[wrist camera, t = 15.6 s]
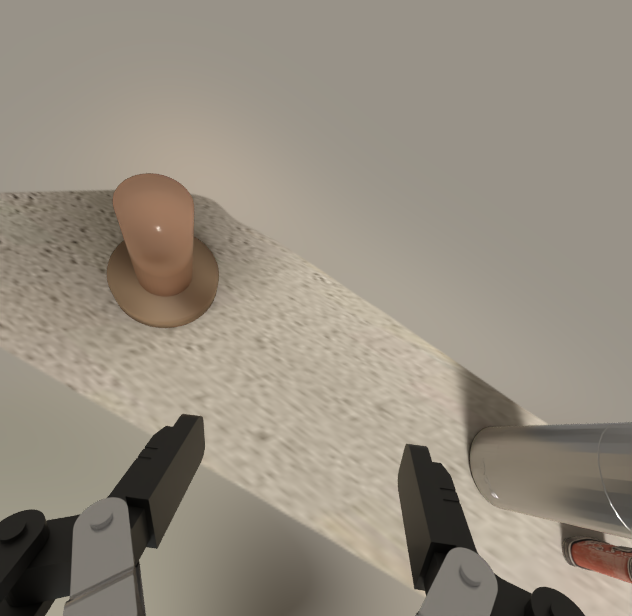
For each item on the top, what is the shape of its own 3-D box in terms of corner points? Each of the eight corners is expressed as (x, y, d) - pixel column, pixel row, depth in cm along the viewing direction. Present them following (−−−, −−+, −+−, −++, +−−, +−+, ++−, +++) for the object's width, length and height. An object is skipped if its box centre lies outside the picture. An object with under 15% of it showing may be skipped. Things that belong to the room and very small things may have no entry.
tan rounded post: (162, 241, 33) (151, 161, 23) (203, 271, 33) (208, 205, 24) (124, 274, 30) (93, 201, 21) (168, 306, 31) (159, 249, 21)
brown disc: (160, 224, 36) (159, 211, 34) (235, 277, 37) (238, 267, 35) (87, 288, 31) (79, 276, 29) (174, 347, 32) (173, 340, 30)
